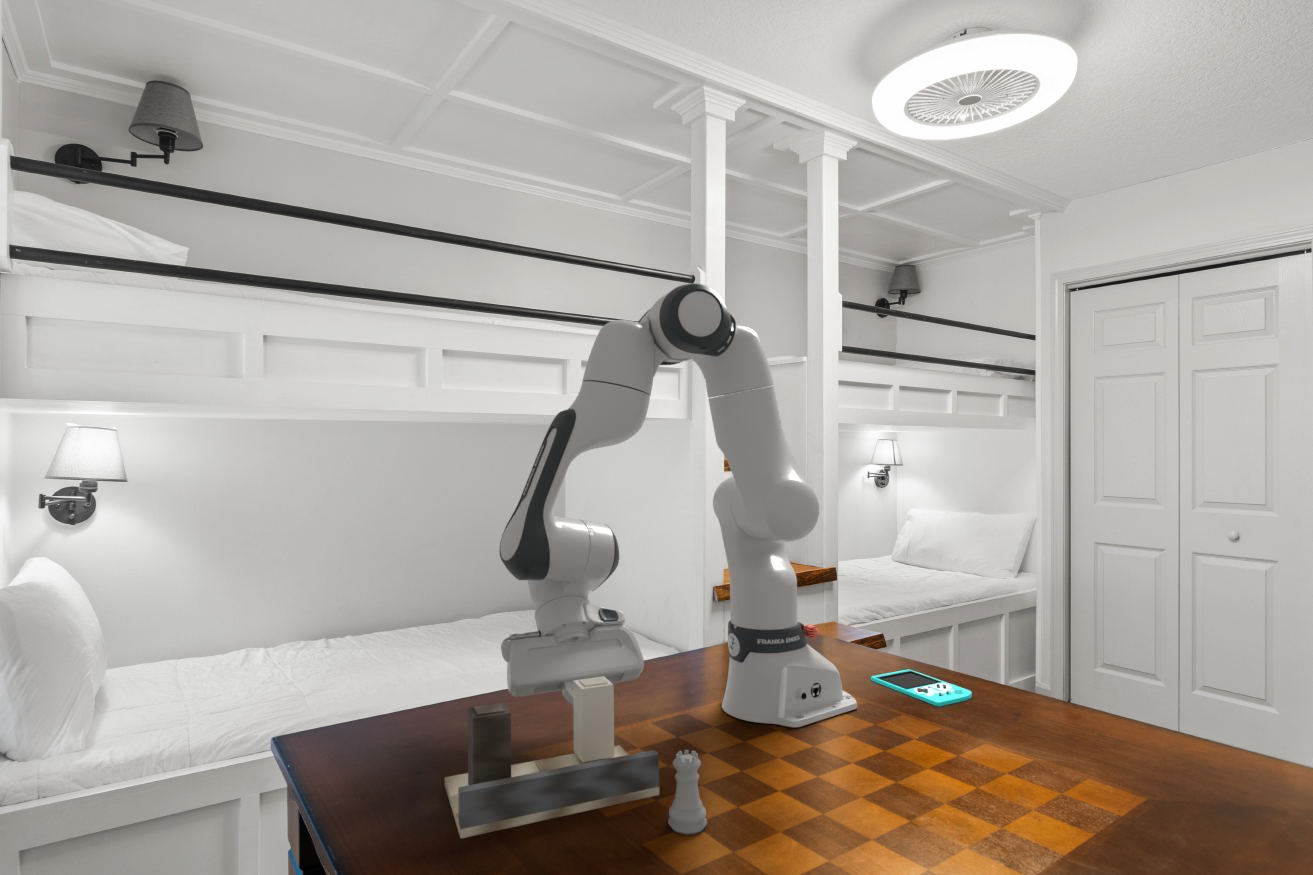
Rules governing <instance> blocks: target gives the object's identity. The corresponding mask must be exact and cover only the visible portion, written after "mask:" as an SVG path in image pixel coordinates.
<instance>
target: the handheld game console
mask: <svg viewBox="0 0 1313 875" xmlns="http://www.w3.org/2000/svg"><path fill="white" fill-rule="evenodd" d="M870 680H871V681H872V682H874V683H876V684H879V685H882V686H884V687H887V688H889V689H892V690H894V691H897V692H899V693H901V694H905V695H906V696H910V697H912V698H914V699H917V700H920V701H922V702H925V703H927V704H930V705H932V706H935V707H939V708H940V707H943V706H948V705H951V704H952V705H953V704H957V703H961V702H962V703H963V702H965V701H968V700H970V699H971V698H973V692H972V691H971V690H969V689H967V688H965V687H961V686H959V685H956V684H953V683H949V682H947V681H944V680H940V679H938V678H935V677H932V676H931V675H927V674H924V673H921V672H918V671H916V670H913V669H903V670H898V671H893V672H886V673H882V674H877V675H876V674H875V675H872V676H871V677H870Z"/></svg>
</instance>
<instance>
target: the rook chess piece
mask: <svg viewBox="0 0 1313 875" xmlns="http://www.w3.org/2000/svg"><path fill="white" fill-rule="evenodd" d="M683 751H684V752H683ZM683 751H682V750H679V751H677V753H675V759H674V760H673V761H672V766H673V767H674V768H675V770H676V773H675V775H674V778H675V780H676V788H675V789H676V790H675V795H674V800H673V801H672V805H671V806H670V807H669V810H668V817H669V818H668V819H667V821H668V822H667V823H668V825H669V826H670V828H671V829H672V830H673V832H676V833H678V834H682V835H684V836H685V835H695V834H699V833H700V832H702V831H703V830H704V829H705V827H706V825H707V824H708V819H707V818H706V817H707V811H706V807H705V806H704V805H703V801H702V800H701V798H700V791H699V786H698V785H699V784H698V782H699V779H700V775H699V773H698V770H699V768H700V767H701V766H702V762H701V760H700V758H699V754H698V753H697V752H696V750H692V751H691V753H689V752H690V751H689V749H684V750H683Z"/></svg>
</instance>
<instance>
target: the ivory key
mask: <svg viewBox="0 0 1313 875" xmlns="http://www.w3.org/2000/svg"><path fill="white" fill-rule="evenodd" d="M614 684H615V683H611V682H610V681H609V680H608V679H607V678H605V677H604V676H602V677H595V678H588V679H581V680H574V681H573V706H572V707H573V708H572V709H573V711H572V712H573V752H574V753H576V755H577V756H578V757H579V759H580V760H581V761H582V763H583V762H588V761H594V760H599V759H604V758H609V757H614V746H615V704H614V703H615V701H614V700H615V693H614V692H615V691H614V690H615V687H614V686H615V685H614Z"/></svg>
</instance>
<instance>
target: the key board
mask: <svg viewBox="0 0 1313 875" xmlns="http://www.w3.org/2000/svg"><path fill="white" fill-rule="evenodd" d="M444 788H445V791H446V794H447V798H448V800H449V801H448V802H449V805H450V807H451V810H452V814H453V817H454V821H455V824H456V827H457V831H458V835H459V838H460V839H465V838H470V837H475V836H479V835H482V834H483V835H484V834H487V833H493V832H497V831H501V830H507V829H511V828H514V827H515V828H516V827H520V826H524V825H529V824H533V823H537V822H542V821H547V820H551V819H555V818H560V817H564V816H565V817H566V816H570V815H574V814H578V813H583V812H587V811H588V812H589V811H591V810H597V809H601V808H605V807H610V806H615V805H619V804H624V803H629V802H634V801H638V800H642V799H647V798H652V797H657V796H660V754H659V752H657V750H655V749H652V750H647V751H641V752H637V753H631V754H629V753H628V752H627V751H626V750H625V749H624V748H623V747H622V746H621V744H617V745H614V757H609V758H604V759H599V760H594V761H588V762H583V763H582V761H581V760H580V759H579V757H578V756H577V755H576V753H575V752H574V753H570V754H569V753H568V754H564V755H558V756H554V757H552V756H551V757H548V758H543V759H542V758H541V759H538V760H537V759H536V760H531V761H526V762H520V763H515V764H511V777H510V778H505V779H500V780H495V781H489V782H484V783H479V784H474V785H468V772H466V773H460V774H456V775H455V774H454V775H450V776H444Z"/></svg>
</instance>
